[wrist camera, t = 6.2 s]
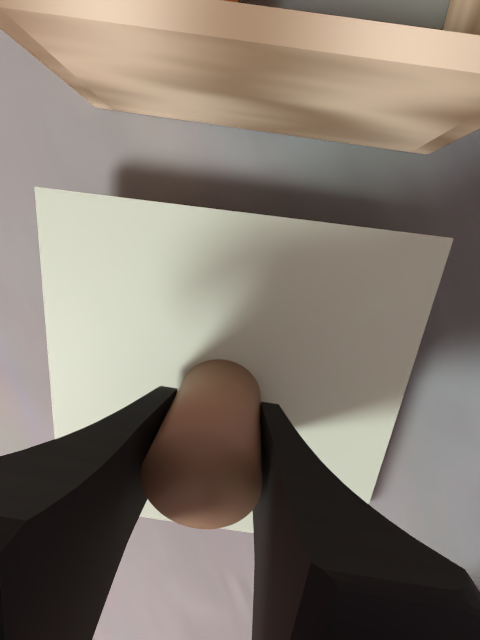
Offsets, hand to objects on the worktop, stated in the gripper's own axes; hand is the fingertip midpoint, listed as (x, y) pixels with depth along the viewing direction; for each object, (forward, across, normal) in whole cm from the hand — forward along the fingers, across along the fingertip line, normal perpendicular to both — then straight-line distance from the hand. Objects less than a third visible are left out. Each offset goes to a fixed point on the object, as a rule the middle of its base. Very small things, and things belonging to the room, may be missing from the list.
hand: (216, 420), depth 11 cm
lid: (+1, 0, 0) cm, 1 cm away
